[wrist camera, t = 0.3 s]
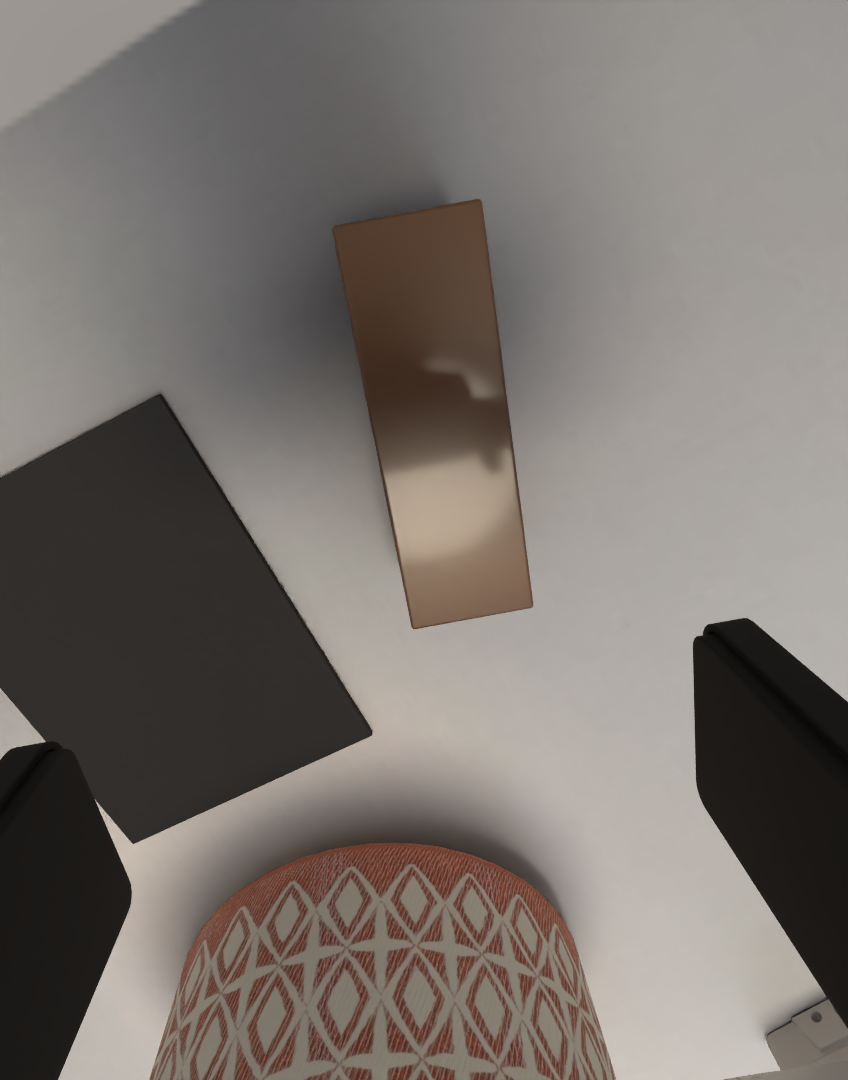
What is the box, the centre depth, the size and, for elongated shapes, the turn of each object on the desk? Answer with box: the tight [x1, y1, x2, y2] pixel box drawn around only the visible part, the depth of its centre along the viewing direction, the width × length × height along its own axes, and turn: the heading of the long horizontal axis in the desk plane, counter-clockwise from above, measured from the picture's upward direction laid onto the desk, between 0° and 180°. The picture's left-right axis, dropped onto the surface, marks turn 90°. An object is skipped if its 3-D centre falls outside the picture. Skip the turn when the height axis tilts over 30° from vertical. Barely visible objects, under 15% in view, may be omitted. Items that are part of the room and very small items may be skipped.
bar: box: [332, 199, 533, 629], centre depth 21 cm, size 12×4×5 cm, turn 10°
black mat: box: [0, 394, 372, 844], centre depth 26 cm, size 16×12×1 cm
